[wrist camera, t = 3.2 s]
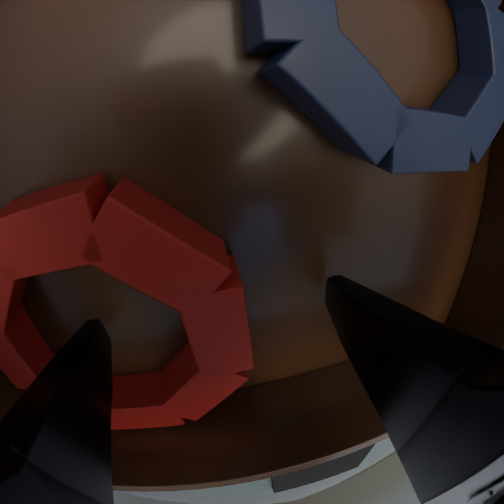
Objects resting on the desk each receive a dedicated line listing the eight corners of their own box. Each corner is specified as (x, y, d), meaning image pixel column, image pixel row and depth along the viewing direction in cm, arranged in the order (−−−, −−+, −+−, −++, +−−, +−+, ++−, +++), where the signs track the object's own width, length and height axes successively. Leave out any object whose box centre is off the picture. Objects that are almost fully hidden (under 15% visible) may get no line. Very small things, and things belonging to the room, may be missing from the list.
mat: (272, 489, 24) (274, 493, 24) (270, 467, 19) (271, 472, 19) (356, 463, 26) (357, 466, 25) (379, 431, 21) (381, 435, 20)
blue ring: (255, 168, 7) (273, 187, 6) (228, -110, 3) (238, -140, 1) (479, 158, 8) (509, 171, 7) (461, -42, 4) (490, -46, 2)
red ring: (61, 399, 10) (55, 428, 8) (-45, 224, 5) (-72, 248, 4) (251, 380, 11) (260, 412, 10) (220, 148, 7) (229, 162, 5)
